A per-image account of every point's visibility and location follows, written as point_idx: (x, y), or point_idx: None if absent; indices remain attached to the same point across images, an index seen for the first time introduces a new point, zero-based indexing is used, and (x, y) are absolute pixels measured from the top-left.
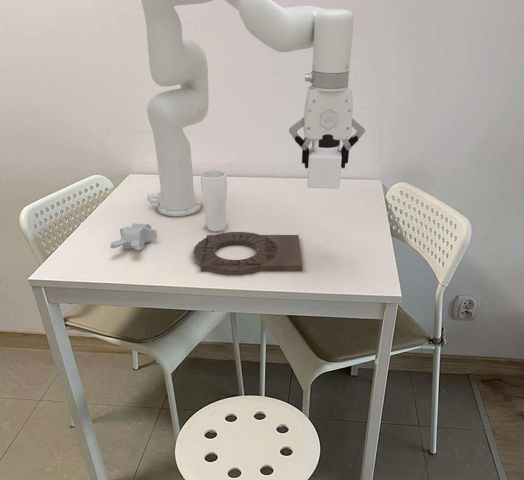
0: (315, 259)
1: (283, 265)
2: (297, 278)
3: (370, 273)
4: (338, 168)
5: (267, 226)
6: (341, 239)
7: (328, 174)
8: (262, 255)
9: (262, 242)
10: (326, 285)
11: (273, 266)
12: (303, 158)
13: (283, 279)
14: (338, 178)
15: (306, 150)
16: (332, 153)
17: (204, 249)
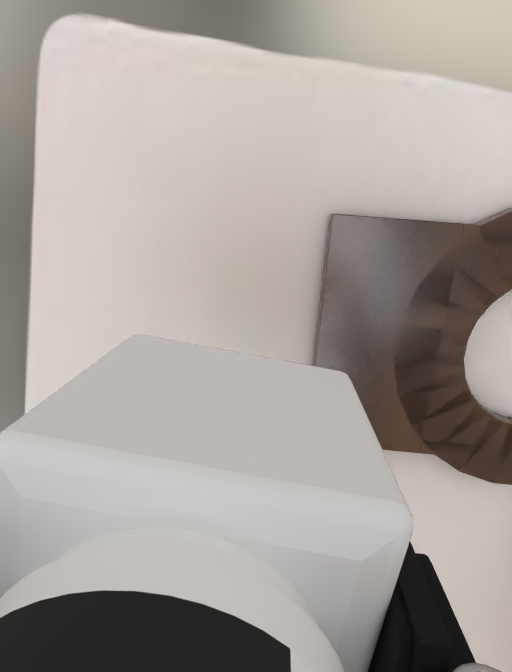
0: (270, 295)
1: (399, 219)
2: (354, 163)
3: (104, 181)
4: (82, 382)
5: None
6: None
7: (190, 378)
8: (459, 301)
9: (440, 398)
10: (263, 104)
11: (433, 221)
12: (430, 585)
13: (403, 159)
14: (113, 354)
15: (446, 651)
16: (90, 544)
17: None
